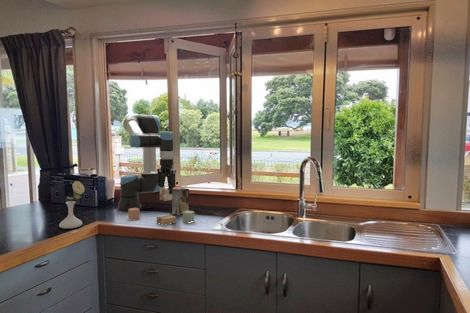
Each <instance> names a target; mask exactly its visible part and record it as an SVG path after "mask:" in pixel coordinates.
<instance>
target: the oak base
mask: <svg viewBox="0 0 470 313" xmlns="http://www.w3.org/2000/svg"><path fill="white" fill-rule="evenodd" d="M155 219H156V222H157V223H156V224H158V223H160V224H159V225H161V224H163V225H165V224H170V223H174V222H176V223H177V216H176V215H173V214H164V215H163V214H162V215H157V216H156V218H155ZM163 225H162V226H163ZM170 225H171V224H170ZM165 226H166V225H165Z"/></svg>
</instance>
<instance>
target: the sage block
mask: <svg viewBox="0 0 470 313" xmlns="http://www.w3.org/2000/svg"><path fill="white" fill-rule="evenodd" d="M183 221H184V222H191V221H194V222H195V211H194V210H189V211H185V212H183V215H182V222H183Z"/></svg>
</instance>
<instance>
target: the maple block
mask: <svg viewBox="0 0 470 313" xmlns="http://www.w3.org/2000/svg"><path fill="white" fill-rule="evenodd" d="M167 188H168V187H167ZM167 188H166V187H165V189H159V201H165V202H166V201H169V200H167ZM170 201H172V199H171V200H170Z"/></svg>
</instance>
